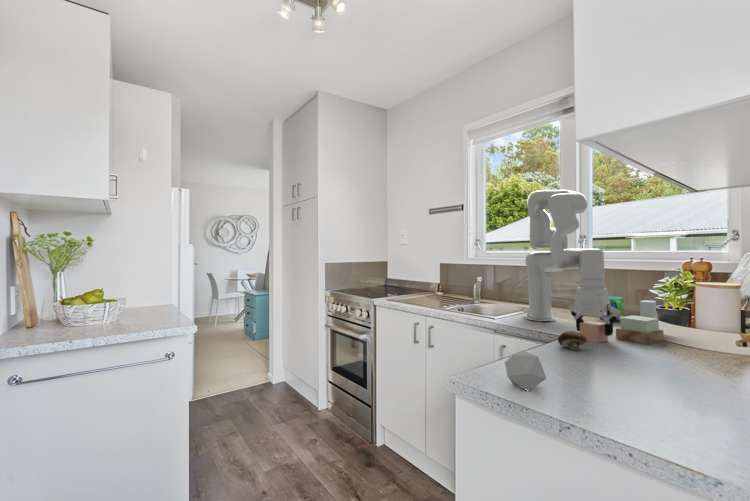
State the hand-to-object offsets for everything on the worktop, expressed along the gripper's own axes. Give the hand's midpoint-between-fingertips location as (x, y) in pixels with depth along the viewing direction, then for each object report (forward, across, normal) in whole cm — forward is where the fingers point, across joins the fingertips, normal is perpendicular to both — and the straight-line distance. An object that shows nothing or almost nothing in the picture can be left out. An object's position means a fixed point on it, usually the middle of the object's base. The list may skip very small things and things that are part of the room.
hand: (594, 332), depth 122 cm
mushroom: (+3, +3, -17) cm, 17 cm away
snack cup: (+2, -18, +44) cm, 48 cm away
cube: (+3, 0, 0) cm, 3 cm away
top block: (-1, +8, +13) cm, 15 cm away
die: (+3, +17, -57) cm, 59 cm away
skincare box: (+3, +5, +27) cm, 28 cm away
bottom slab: (+3, +8, +13) cm, 16 cm away
